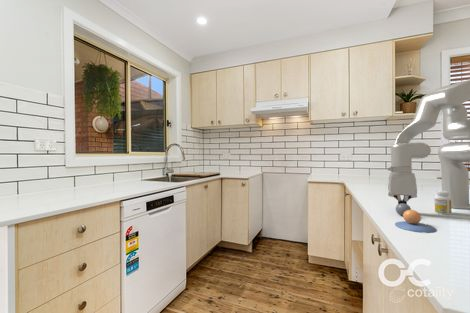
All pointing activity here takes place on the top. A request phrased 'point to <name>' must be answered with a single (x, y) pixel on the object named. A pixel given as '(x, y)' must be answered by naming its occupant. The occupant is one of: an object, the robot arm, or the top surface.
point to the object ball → (412, 216)
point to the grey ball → (402, 208)
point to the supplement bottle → (443, 203)
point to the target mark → (415, 227)
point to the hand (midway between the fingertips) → (402, 209)
